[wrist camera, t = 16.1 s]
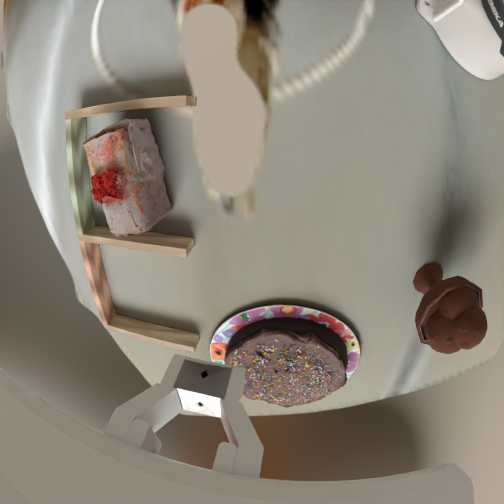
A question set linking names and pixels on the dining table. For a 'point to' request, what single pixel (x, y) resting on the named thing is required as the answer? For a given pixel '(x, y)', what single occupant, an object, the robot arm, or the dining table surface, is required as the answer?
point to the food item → (128, 176)
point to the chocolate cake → (287, 352)
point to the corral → (98, 235)
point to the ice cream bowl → (448, 311)
